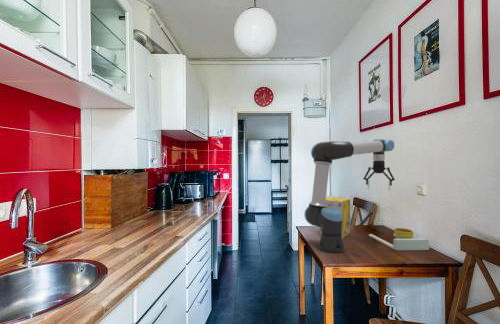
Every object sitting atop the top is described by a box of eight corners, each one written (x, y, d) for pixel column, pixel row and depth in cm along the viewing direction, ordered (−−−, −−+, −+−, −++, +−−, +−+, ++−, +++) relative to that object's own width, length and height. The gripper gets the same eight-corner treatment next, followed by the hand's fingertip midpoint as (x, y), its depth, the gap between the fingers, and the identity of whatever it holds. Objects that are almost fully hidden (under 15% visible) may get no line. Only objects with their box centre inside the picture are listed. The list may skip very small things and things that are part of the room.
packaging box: (349, 233, 194) (350, 199, 194) (343, 238, 181) (343, 201, 181) (327, 230, 203) (328, 197, 203) (319, 234, 190) (320, 199, 190)
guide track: (368, 235, 188) (368, 227, 188) (396, 235, 189) (396, 226, 189) (396, 250, 156) (396, 240, 156) (428, 249, 158) (429, 239, 158)
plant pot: (417, 247, 163) (417, 231, 163) (404, 249, 159) (404, 232, 159) (402, 242, 172) (402, 227, 172) (390, 244, 169) (390, 228, 169)
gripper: (398, 160, 191) (398, 190, 191) (360, 160, 202) (360, 188, 202) (398, 160, 185) (398, 191, 184) (359, 160, 195) (359, 189, 195)
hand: (378, 189), depth 193 cm, fingers open, 13 cm apart
